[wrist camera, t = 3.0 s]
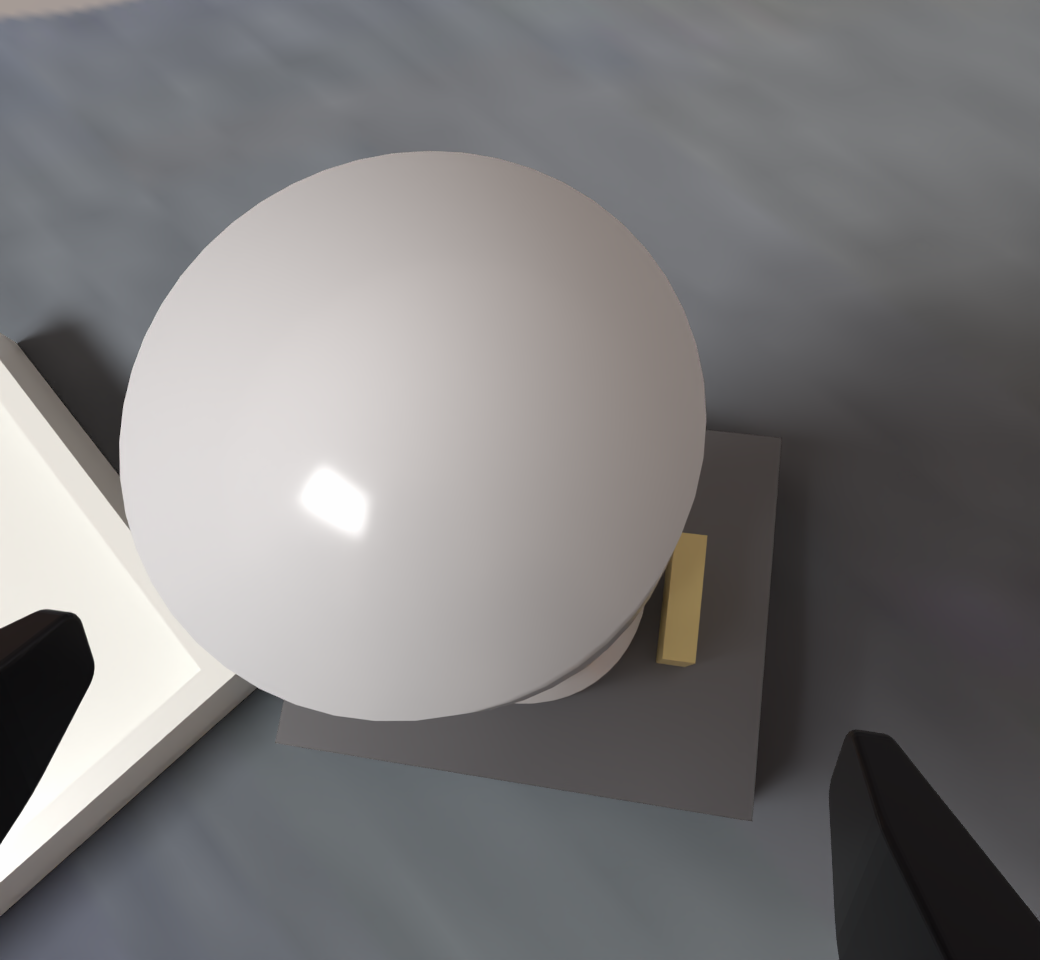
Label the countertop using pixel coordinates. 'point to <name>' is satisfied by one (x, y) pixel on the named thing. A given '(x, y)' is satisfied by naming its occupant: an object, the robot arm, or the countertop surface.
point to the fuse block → (633, 675)
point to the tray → (90, 628)
